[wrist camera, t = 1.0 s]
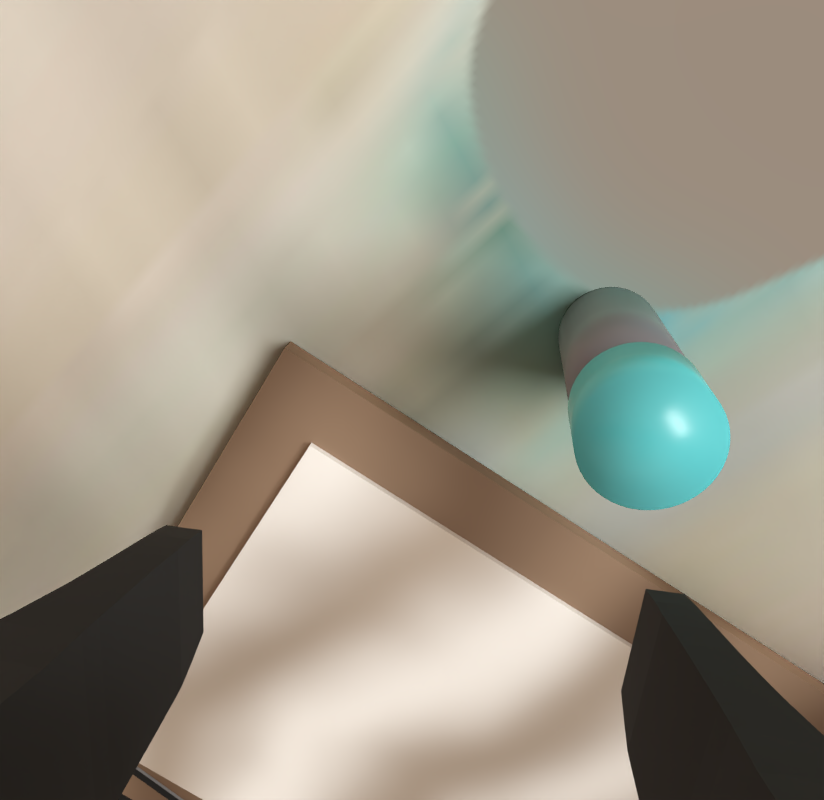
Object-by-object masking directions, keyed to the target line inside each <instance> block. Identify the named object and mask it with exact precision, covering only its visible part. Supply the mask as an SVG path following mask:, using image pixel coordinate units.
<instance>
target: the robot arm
mask: <svg viewBox="0 0 824 800" xmlns="http://www.w3.org/2000/svg"><path fill="white" fill-rule="evenodd" d="M203 632H204V628H203V556H202V530H198V529H190V528H183V527H175V526H167V525H166V526H164V527H162V528H160V529H158V530H156V531H155V532H153V533H151V534H149V535H148V536H146V537H144V538H143V539H141V540H139V541H138V542H136V543H134V544H133V545H131V546H129V547H128V548H126V549H125V550H123V551H121V552H120V553H118V554H116V555H115V556H113V557H111V558H110V559H108V560H106V561H105V562H103V563H101V564H100V565H98V566H96V567H95V568H93V569H91V570H90V571H88V572H86V573H85V574H83V575H81V576H79V577H78V578H76V579H74V580H73V581H71V582H69V583H68V584H66V585H64V586H62V587H60V588H58V589H56V590H55V591H53V592H51V593H49V594H47V595H45V596H43V597H42V598H40V599H38V600H36V601H34V602H32V603H30V604H28V605H27V606H25V607H23V608H21V609H19V610H17V611H15V612H14V613H12V614H10V615H8V616H6V617H4V618H2V619H0V800H118V799H119V798H120V796H121V794H122V792H123V791H124V789H125V787H126V785H127V784H128V782H129V780H130V778H131V777H132V775H133V773H134V771H135V769H136V768H137V766H138V764H139V762H140V761H141V759H142V757H143V755H144V754H145V752H146V750H147V748H148V746H149V745H150V743H151V741H152V739H153V738H154V736H155V734H156V732H157V731H158V729H159V727H160V725H161V723H162V722H163V720H164V718H165V716H166V714H167V713H168V711H169V709H170V707H171V705H172V704H173V702H174V700H175V698H176V696H177V694H178V693H179V691H180V689H181V687H182V685H183V682H184V680H185V678H186V675H187V673H188V670H189V668H190V666H191V663H192V661H193V658H194V655H195V653H196V650H197V648H198V645H199V643H200V640H201V637H202V635H203ZM621 696H622V706H623V716H624V726H625V734H626V743H627V751H628V756H629V760H630V764H631V769H632V773H633V777H634V781H635V786H636V790H637V794H638V798H639V800H824V735H823V734H822V733H821V732H819V731H818V730H817V729H816V728H815V727H814V726H813V725H812V724H811V723H810V722H809V721H808V720H807V719H806V718H804V717H803V716H802V715H801V714H800V713H799V712H798V711H797V710H796V709H795V708H794V707H793V706H792V705H790V704H789V703H788V702H787V701H786V700H785V699H784V698H783V697H782V696H781V695H780V694H779V693H778V692H777V691H776V690H775V689H774V688H773V687H772V686H771V685H770V684H769V683H768V682H767V681H766V680H765V679H764V678H763V677H762V676H761V675H760V674H759V673H758V672H757V670H756V669H755V668H754V667H753V666H752V665H751V664H750V663H749V662H748V661H747V660H746V659H745V658H744V657H743V656H742V655H741V654H740V653H739V652H738V650H737V649H736V648H735V647H734V646H733V645H732V644H731V643H730V642H729V641H728V640H727V639H726V637H725V636H724V635H723V634H722V633H721V632H720V631H719V630H718V629H717V628H716V627H715V625H714V624H713V623H712V622H711V621H710V620H709V619H708V618H707V617H706V616H705V615H704V613H703V612H702V611H701V610H700V609H699V608H698V607H697V606H696V605H695V604H694V603H693V602H692V601H691V600H690V599H689V598H688V597H687V596H686V595H685V594H681V593H673V592H666V591H658V590H651V589H646V590H645V594H644V598H643V602H642V606H641V610H640V614H639V618H638V623H637V627H636V631H635V635H634V639H633V643H632V647H631V651H630V656H629V660H628V664H627V668H626V672H625V676H624V680H623V685H622V689H621Z"/></svg>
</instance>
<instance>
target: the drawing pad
mask: <svg viewBox="0 0 824 800" xmlns="http://www.w3.org/2000/svg"><path fill="white" fill-rule="evenodd" d="M178 527H183V528H190V529H198V530H202V556H203V628H204V632H203V635H202V637H201V640H200V643H199V645H198V648H197V650H196V653H195V655H194V658H193V661H192V663H191V666H190V668H189V670H188V673H187V675H186V678H185V680H184V682H183V685H182V687H181V689H180V691H179V693H178V694H177V696H176V698H175V700H174V702H173V704H172V705H171V707H170V709H169V711H168V713H167V714H166V716H165V718H164V720H163V722H162V723H161V725H160V727H159V729H158V731H157V732H156V734H155V736H154V738H153V739H152V741H151V743H150V745H149V746H148V748H147V750H146V752H145V754H144V755H143V757H142V759H141V761H140V762H139V764H138V766H137V767H139V768H140V769H142V770H143V771H144V772H146V773H147V774H148V775H150V776H151V777H153V778H154V779H155V780H157V781H158V782H160V783H161V784H162V785H164V786H165V787H167V788H168V789H169V790H171V791H172V792H174V793H175V794H176V795H178V796H179V797H181V798H182V799H183V800H639V798H638V794H637V790H636V786H635V781H634V777H633V773H632V769H631V764H630V760H629V756H628V751H627V743H626V734H625V726H624V716H623V706H622V696H621V689H622V685H623V680H624V676H625V672H626V668H627V664H628V660H629V656H630V651H631V647H632V643H633V639H634V635H635V631H636V627H637V623H638V618H639V614H640V610H641V606H642V602H643V598H644V594H645V590H646V589H651V590H658V591H666V592H673V593H681V594H683V593H682V592H680V591H678V590H677V589H675V588H674V587H672V586H671V585H669V584H668V583H666V582H664V581H663V580H661V579H660V578H658V577H657V576H655V575H653V574H652V573H650V572H649V571H647V570H646V569H644V568H643V567H641V566H639V565H638V564H636V563H635V562H633V561H632V560H630V559H629V558H627V557H625V556H624V555H622V554H621V553H619V552H618V551H616V550H615V549H613V548H611V547H610V546H608V545H607V544H605V543H604V542H602V541H601V540H599V539H597V538H596V537H594V536H593V535H591V534H590V533H588V532H587V531H585V530H583V529H582V528H580V527H579V526H577V525H576V524H574V523H572V522H571V521H569V520H568V519H566V518H565V517H563V516H562V515H560V514H558V513H557V512H555V511H554V510H552V509H551V508H549V507H548V506H546V505H544V504H543V503H541V502H540V501H538V500H537V499H535V498H534V497H532V496H530V495H529V494H527V493H526V492H524V491H523V490H521V489H520V488H518V487H516V486H515V485H513V484H512V483H510V482H509V481H507V480H506V479H504V478H502V477H501V476H499V475H498V474H496V473H495V472H493V471H492V470H490V469H488V468H487V467H485V466H484V465H482V464H481V463H479V462H477V461H476V460H474V459H473V458H471V457H470V456H468V455H467V454H465V453H463V452H462V451H460V450H459V449H457V448H456V447H454V446H453V445H451V444H449V443H448V442H446V441H445V440H443V439H442V438H440V437H439V436H437V435H435V434H434V433H432V432H431V431H429V430H428V429H426V428H425V427H423V426H421V425H420V424H418V423H417V422H415V421H414V420H412V419H411V418H409V417H407V416H406V415H404V414H403V413H401V412H400V411H398V410H396V409H395V408H393V407H392V406H390V405H389V404H387V403H386V402H384V401H382V400H381V399H379V398H378V397H376V396H375V395H373V394H372V393H370V392H368V391H367V390H365V389H364V388H362V387H361V386H359V385H358V384H356V383H354V382H353V381H351V380H350V379H348V378H347V377H345V376H344V375H342V374H340V373H339V372H337V371H336V370H334V369H333V368H331V367H330V366H328V365H326V364H325V363H323V362H322V361H320V360H319V359H317V358H316V357H314V356H312V355H311V354H309V353H308V352H306V351H305V350H303V349H301V348H300V347H298V346H297V345H295V344H294V343H292V342H290V343H289V344H288V345H287V346H286V347H285V348H284V350H283V351H282V353H281V355H280V356H279V358H278V360H277V361H276V363H275V365H274V366H273V368H272V370H271V371H270V373H269V375H268V376H267V378H266V380H265V381H264V383H263V385H262V386H261V388H260V390H259V391H258V393H257V395H256V396H255V398H254V400H253V401H252V403H251V405H250V406H249V408H248V410H247V411H246V413H245V415H244V416H243V418H242V420H241V422H240V423H239V425H238V427H237V428H236V430H235V432H234V433H233V435H232V437H231V438H230V440H229V442H228V443H227V445H226V447H225V448H224V450H223V452H222V453H221V455H220V457H219V458H218V460H217V462H216V463H215V465H214V467H213V468H212V470H211V472H210V473H209V475H208V477H207V478H206V480H205V482H204V483H203V485H202V487H201V488H200V490H199V492H198V493H197V495H196V497H195V498H194V500H193V502H192V503H191V505H190V507H189V508H188V510H187V512H186V513H185V515H184V517H183V519H182V520H181V522H180V524H179V525H178ZM687 597H688V596H687ZM688 598H689V597H688ZM689 599H690V600H691V601H692V602H693V603H694V604H695V605H696V606H697V607H698V608H699V609H700V610H701V611H702V612H703V613H704V615H705V616H706V617H707V618H708V619H709V620H710V621H711V622H712V623H713V624H714V625H715V627H716V628H717V629H718V630H719V631H720V632H721V633H722V634H723V635H724V636H725V637H726V639H727V640H728V641H729V642H730V643H731V644H732V645H733V646H734V647H735V648H736V649H737V650H738V652H739V653H740V654H741V655H742V656H743V657H744V658H745V659H746V660H747V661H748V662H749V663H750V664H751V665H752V666H753V667H754V668H755V669H756V670H757V672H758V673H759V674H760V675H761V676H762V677H763V678H764V679H765V680H766V681H767V682H768V683H769V684H770V685H771V686H772V687H773V688H774V689H775V690H776V691H777V692H778V693H779V694H780V695H781V696H782V697H783V698H784V699H785V700H786V701H787V702H788V703H789V704H790V705H792V706H793V707H794V708H795V709H796V710H797V711H798V712H799V713H800V714H801V715H802V716H803V717H804V718H806V719H807V720H808V721H809V722H810V723H811V724H812V725H813V726H814V727H815V728H816V729H817V730H818V731H819V732H821V733H822V734H823V735H824V684H823V683H822V682H820V681H819V680H817V679H815V678H814V677H812V676H811V675H809V674H808V673H806V672H805V671H803V670H801V669H800V668H798V667H797V666H795V665H794V664H792V663H791V662H789V661H787V660H786V659H784V658H783V657H781V656H780V655H778V654H777V653H775V652H773V651H772V650H770V649H769V648H767V647H766V646H764V645H763V644H761V643H759V642H758V641H756V640H755V639H753V638H752V637H750V636H748V635H747V634H745V633H744V632H742V631H741V630H739V629H738V628H736V627H734V626H733V625H731V624H730V623H728V622H727V621H725V620H724V619H722V618H720V617H719V616H717V615H716V614H714V613H713V612H711V611H710V610H708V609H706V608H705V607H703V606H702V605H700V604H699V603H697V602H696V601H694V600H692V599H691V598H689ZM122 794H123V795H125V796H127V797H128V798H130V799H132V800H168V799H167V798H165V797H164V796H162V795H161V794H160V793H158V792H157V791H155V790H154V789H153V788H151V787H150V786H148V785H147V784H146V783H144V782H143V781H141V780H140V779H138V778H137V777H136V776H134V775H132V777H131V778H130V780H129V782H128V784H127V785H126V787H125V789H124V791H123V792H122Z"/></svg>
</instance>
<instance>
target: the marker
mask: <svg viewBox="0 0 824 800" xmlns="http://www.w3.org/2000/svg"><path fill="white" fill-rule="evenodd" d="M558 341H559V349H560V354H561V360H562V366H563V372H564V378H565V384H566V390H567V395H568V415H569V422H570V429H571V435H572V441H573V447H574V453H575V458H576V462H577V465H578V467H579V470H580V472H581V473H582V475H583V477H584V479H585V480H586V481H587V482H588V484H589V485H590V486H591V487H592V488H593V489H594V490H595V491H596V492H597V493H599V494H600V495H601V496H603V497H604V498H606V499H608V500H609V501H611V502H613V503H616V504H618V505H620V506H624V507H628V508H632V509H638V510H658V509H664V508H670V507H673V506H676V505H679V504H682V503H684V502H686V501H688V500H690V499H692V498H694V497H695V496H697V495H698V494H700V493H701V492H702V491H704V490H705V489H706V488H707V487H708V486H709V485H710V484H711V483H712V482H713V481H714V480H715V478H716V477H717V476H718V474H719V473H720V471H721V469H722V468H723V466H724V463H725V461H726V459H727V455H728V452H729V447H730V428H729V422H728V419H727V416H726V413H725V411H724V409H723V408H722V406H721V404H720V403H719V401H718V400H717V398H716V397H715V395H714V394H713V392H712V391H711V389H710V388H709V386H708V385H707V383H706V382H705V381H704V379H703V378H702V376H701V375H700V373H699V372H698V370H697V369H696V368H695V366H694V365H693V364H692V363H691V362H690V361H689V360H688V359H687V358H686V357H685V356H684V354H683V353H682V351H681V350H680V348H679V347H678V345H677V344H676V342H675V341H674V339H673V338H672V336H671V335H670V333H669V332H668V330H667V329H666V327H665V326H664V324H663V323H662V321H661V320H660V318H659V317H658V315H657V314H656V312H655V311H654V309H653V308H652V307H651V305H650V304H649V303H648V302H647V301H646V300H645V299H644V298H643V297H641V296H640V295H638V294H636V293H635V292H633V291H630V290H628V289H623V288H618V287H605V288H599V289H595V290H593V291H590V292H588V293H586V294H584V295H582V296H581V297H580V298H578V299H577V300H576V301H575V302H574V303H572V305H571V306H570V307H569V308H568V309H567V311H566V313H565V314H564V316H563V318H562V320H561V323H560V327H559V333H558Z"/></svg>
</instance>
